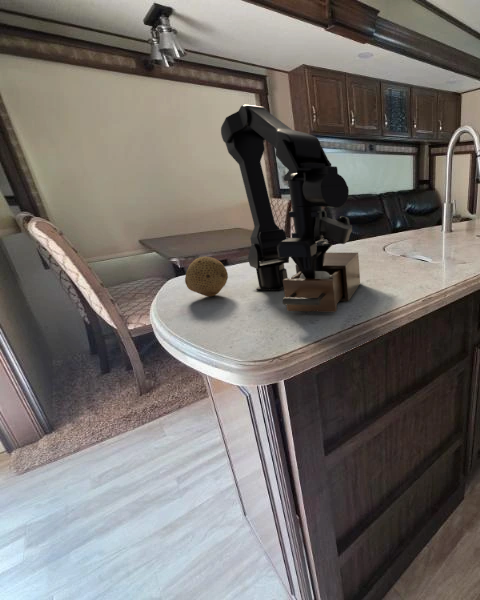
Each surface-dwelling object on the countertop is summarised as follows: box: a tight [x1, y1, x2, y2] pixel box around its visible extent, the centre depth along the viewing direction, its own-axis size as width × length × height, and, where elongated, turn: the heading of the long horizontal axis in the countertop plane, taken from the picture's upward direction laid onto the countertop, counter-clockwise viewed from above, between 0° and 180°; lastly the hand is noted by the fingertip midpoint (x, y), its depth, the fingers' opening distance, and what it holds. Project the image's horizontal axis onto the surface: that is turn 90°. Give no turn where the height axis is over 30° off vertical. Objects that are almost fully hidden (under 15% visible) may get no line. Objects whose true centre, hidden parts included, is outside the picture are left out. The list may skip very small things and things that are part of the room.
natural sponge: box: [184, 256, 229, 298], centre depth 76 cm, size 9×9×10 cm
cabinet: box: [295, 252, 361, 302], centre depth 79 cm, size 14×12×9 cm
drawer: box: [282, 269, 345, 313], centre depth 68 cm, size 17×10×7 cm, turn 175°
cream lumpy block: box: [298, 271, 332, 279], centre depth 68 cm, size 7×4×3 cm, turn 85°
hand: (315, 280), depth 68 cm, fingers closed on cream lumpy block, 4 cm apart
